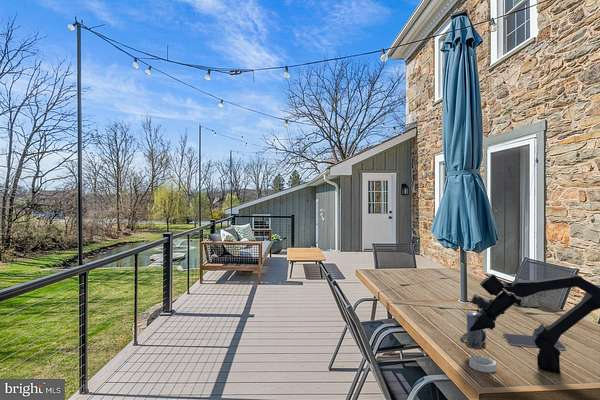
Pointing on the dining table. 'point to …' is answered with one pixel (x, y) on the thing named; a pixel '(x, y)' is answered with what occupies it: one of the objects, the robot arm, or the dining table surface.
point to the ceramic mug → (483, 336)
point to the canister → (473, 336)
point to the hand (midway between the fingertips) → (470, 328)
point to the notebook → (526, 341)
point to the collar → (482, 364)
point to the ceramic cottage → (528, 300)
